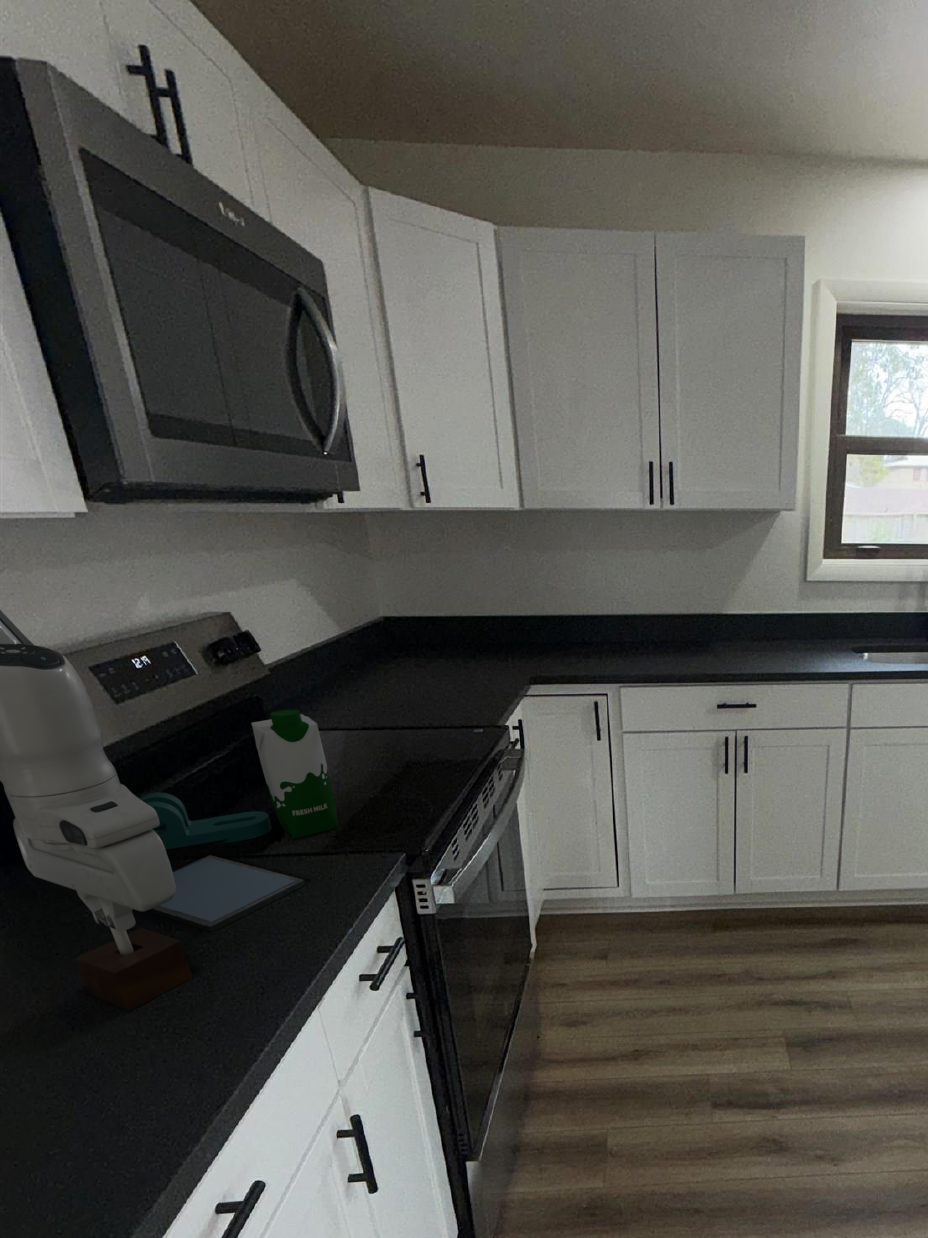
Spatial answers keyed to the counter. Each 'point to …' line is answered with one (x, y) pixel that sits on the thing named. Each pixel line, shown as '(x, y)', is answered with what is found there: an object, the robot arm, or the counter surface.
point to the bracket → (202, 824)
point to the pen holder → (135, 969)
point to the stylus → (118, 934)
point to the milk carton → (296, 773)
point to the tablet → (222, 892)
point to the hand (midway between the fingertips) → (117, 925)
